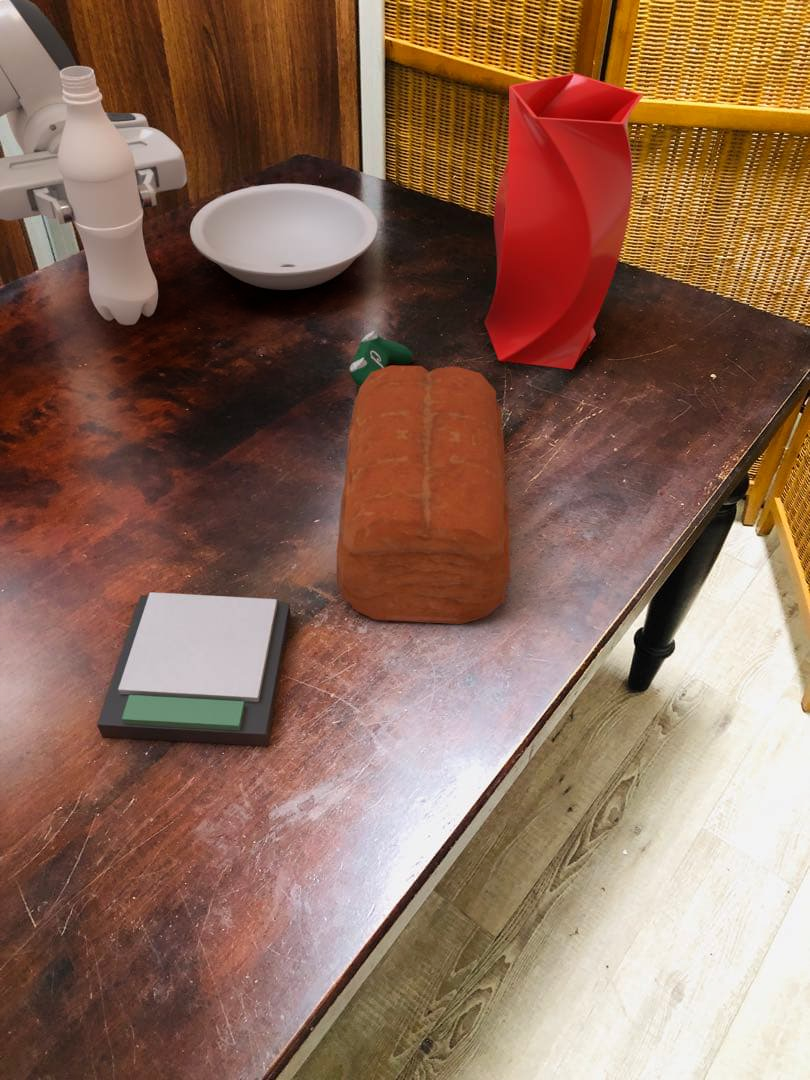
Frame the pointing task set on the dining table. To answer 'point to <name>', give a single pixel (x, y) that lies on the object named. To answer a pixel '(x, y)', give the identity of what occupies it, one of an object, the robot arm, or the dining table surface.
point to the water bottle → (104, 202)
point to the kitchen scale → (198, 670)
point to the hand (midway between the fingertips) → (108, 207)
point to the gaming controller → (377, 356)
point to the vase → (559, 216)
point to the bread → (424, 498)
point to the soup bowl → (284, 234)
